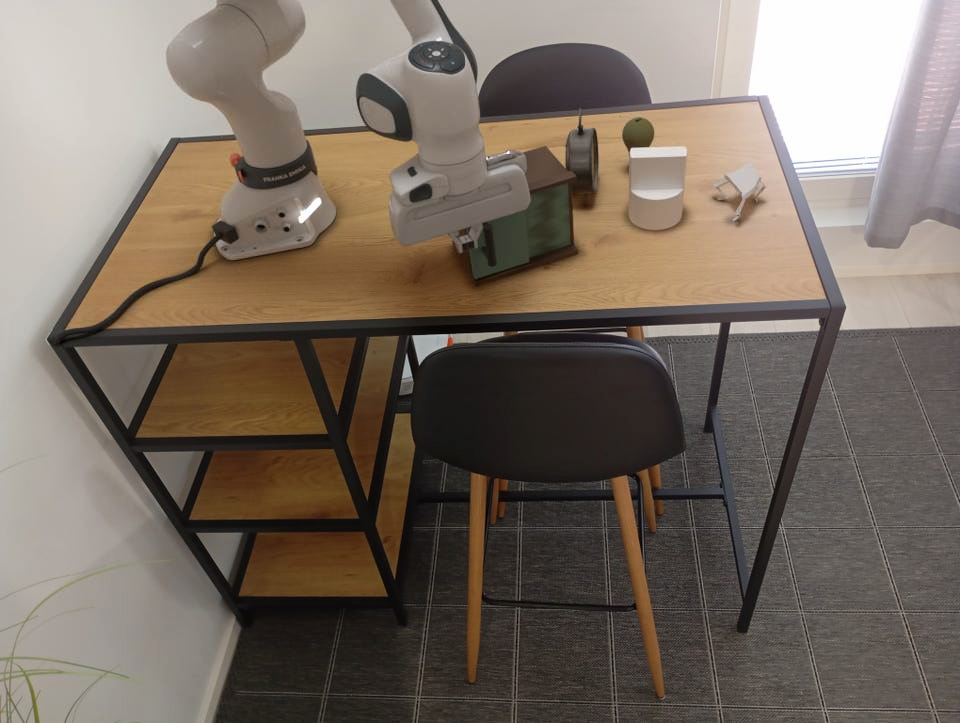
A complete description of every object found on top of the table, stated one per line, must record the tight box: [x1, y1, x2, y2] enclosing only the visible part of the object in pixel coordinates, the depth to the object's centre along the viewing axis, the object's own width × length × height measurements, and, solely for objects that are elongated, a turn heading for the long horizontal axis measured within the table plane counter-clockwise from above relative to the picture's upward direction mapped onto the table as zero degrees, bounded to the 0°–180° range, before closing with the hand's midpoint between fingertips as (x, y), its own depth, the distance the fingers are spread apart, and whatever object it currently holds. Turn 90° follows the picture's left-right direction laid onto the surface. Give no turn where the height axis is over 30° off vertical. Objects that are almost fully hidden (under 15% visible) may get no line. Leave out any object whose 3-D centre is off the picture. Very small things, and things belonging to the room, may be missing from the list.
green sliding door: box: [466, 210, 529, 279], centre depth 121 cm, size 10×5×12 cm, turn 110°
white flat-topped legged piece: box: [711, 161, 767, 222], centre depth 132 cm, size 12×8×5 cm
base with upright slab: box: [627, 145, 688, 231], centre depth 131 cm, size 9×9×12 cm
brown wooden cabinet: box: [451, 145, 579, 287], centre depth 127 cm, size 18×12×15 cm, turn 110°
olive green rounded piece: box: [621, 116, 655, 157], centre depth 142 cm, size 6×6×10 cm
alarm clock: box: [564, 107, 600, 208], centre depth 136 cm, size 11×5×16 cm, turn 168°
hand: (467, 248), depth 117 cm, fingers closed
